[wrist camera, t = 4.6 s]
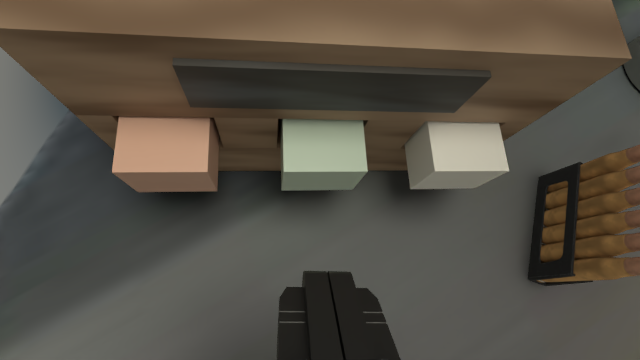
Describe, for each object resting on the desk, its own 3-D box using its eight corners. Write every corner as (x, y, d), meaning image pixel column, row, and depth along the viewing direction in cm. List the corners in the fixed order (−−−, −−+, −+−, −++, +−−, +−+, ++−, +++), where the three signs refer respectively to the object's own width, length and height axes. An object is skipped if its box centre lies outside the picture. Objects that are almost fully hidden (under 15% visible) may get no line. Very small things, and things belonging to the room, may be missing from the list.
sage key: (280, 123, 28) (282, 93, 24) (347, 124, 29) (360, 95, 25) (281, 190, 26) (283, 171, 22) (352, 189, 27) (367, 171, 23)
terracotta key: (145, 120, 27) (122, 89, 22) (219, 122, 27) (210, 91, 23) (137, 192, 25) (111, 172, 21) (217, 191, 26) (207, 172, 22)
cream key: (402, 124, 30) (424, 97, 25) (463, 126, 30) (494, 99, 26) (410, 189, 28) (435, 171, 24) (474, 188, 29) (509, 170, 25)
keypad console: (144, 104, 33) (11, -93, 16) (448, 111, 37) (597, -40, 20) (136, 175, 31) (-24, 35, 14) (458, 174, 35) (634, 65, 18)
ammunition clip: (546, 286, 33) (689, 283, 22) (527, 280, 33) (662, 274, 22) (555, 182, 37) (683, 133, 25) (538, 176, 37) (659, 124, 25)
